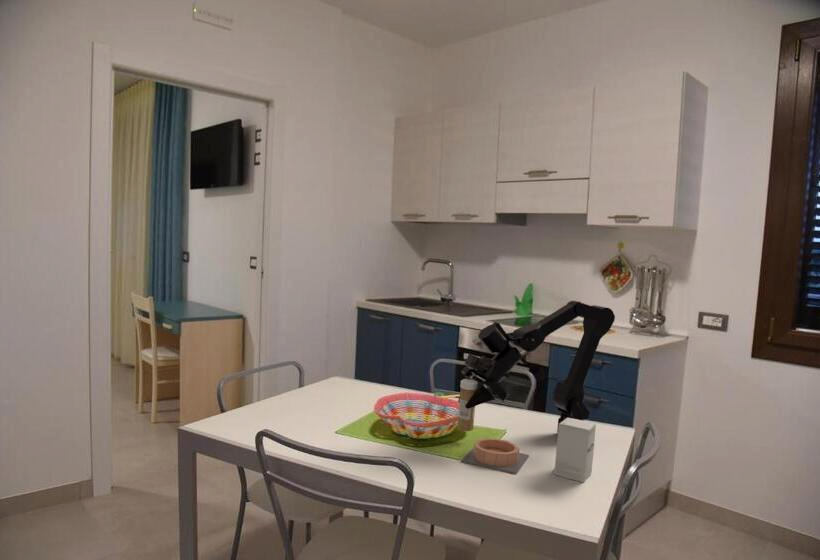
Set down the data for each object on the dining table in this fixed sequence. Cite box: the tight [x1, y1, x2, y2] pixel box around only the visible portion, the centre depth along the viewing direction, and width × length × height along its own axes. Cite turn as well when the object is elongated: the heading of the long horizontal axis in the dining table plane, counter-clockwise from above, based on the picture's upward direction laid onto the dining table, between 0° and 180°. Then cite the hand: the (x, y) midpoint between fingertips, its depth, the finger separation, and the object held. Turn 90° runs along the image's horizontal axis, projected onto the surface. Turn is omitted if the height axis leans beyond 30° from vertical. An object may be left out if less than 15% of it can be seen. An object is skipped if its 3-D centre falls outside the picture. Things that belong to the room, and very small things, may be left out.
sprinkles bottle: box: [457, 378, 477, 432], centre depth 157 cm, size 5×5×14 cm
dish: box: [460, 437, 530, 475], centre depth 146 cm, size 14×14×3 cm
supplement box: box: [553, 418, 597, 483], centre depth 139 cm, size 7×7×13 cm
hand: (462, 405), depth 157 cm, fingers closed on sprinkles bottle, 4 cm apart
